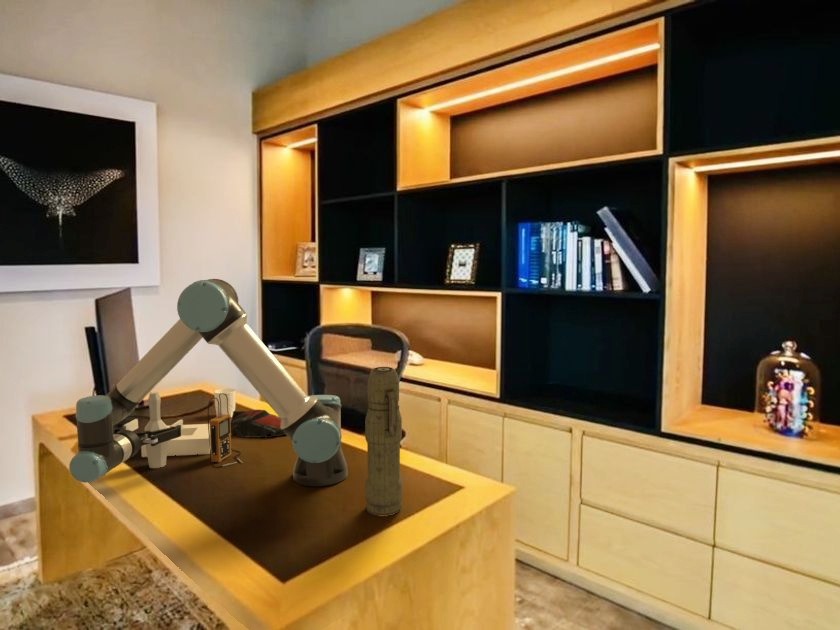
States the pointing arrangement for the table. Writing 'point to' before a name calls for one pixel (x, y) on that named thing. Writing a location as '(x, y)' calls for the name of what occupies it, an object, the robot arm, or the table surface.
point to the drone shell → (255, 424)
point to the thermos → (383, 442)
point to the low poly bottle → (159, 451)
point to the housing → (188, 441)
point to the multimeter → (220, 436)
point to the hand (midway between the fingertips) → (159, 423)
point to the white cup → (225, 401)
